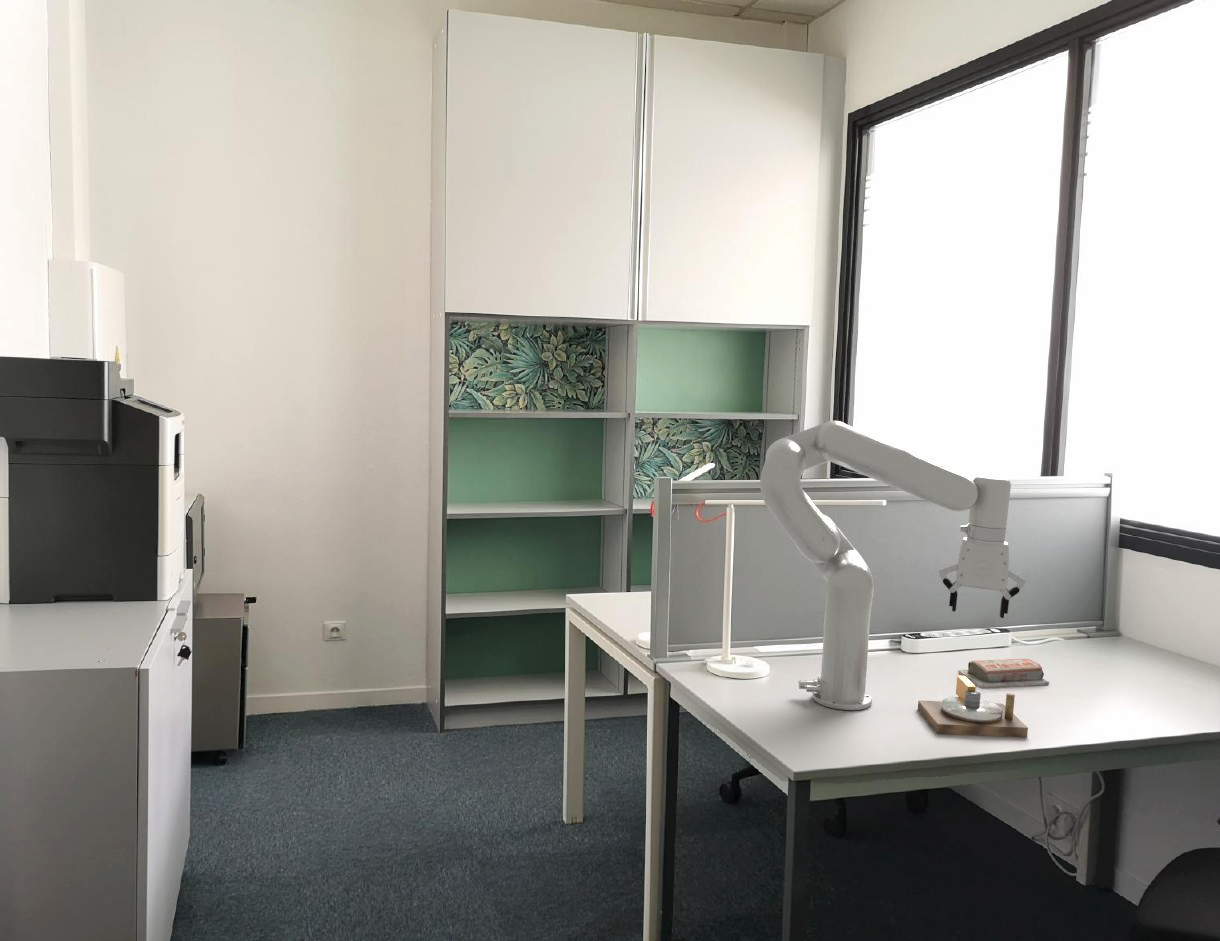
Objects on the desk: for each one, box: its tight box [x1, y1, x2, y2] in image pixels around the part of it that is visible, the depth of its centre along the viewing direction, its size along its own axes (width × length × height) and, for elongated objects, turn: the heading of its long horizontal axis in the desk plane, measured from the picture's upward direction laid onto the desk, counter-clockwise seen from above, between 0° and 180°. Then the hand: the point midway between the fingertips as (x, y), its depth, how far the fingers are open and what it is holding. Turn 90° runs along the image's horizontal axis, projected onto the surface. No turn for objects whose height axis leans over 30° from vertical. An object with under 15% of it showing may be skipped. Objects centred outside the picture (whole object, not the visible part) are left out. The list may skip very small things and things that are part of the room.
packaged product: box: [957, 658, 1050, 689], centre depth 245 cm, size 18×5×10 cm
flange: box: [941, 675, 1003, 723], centre depth 216 cm, size 14×12×5 cm
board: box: [917, 692, 1029, 738], centre depth 215 cm, size 18×14×7 cm
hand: (977, 613), depth 220 cm, fingers open, 9 cm apart
